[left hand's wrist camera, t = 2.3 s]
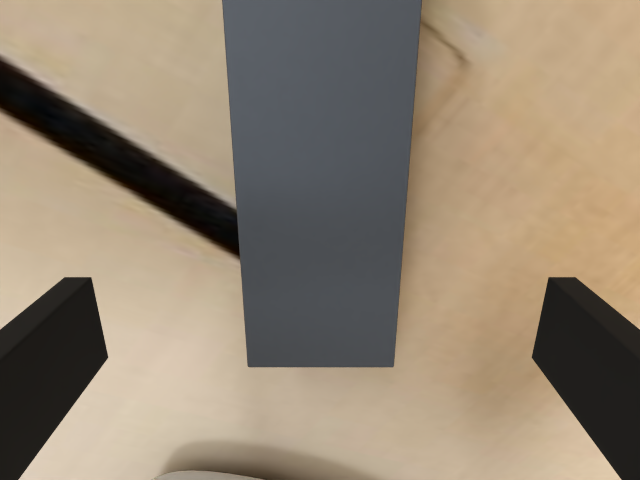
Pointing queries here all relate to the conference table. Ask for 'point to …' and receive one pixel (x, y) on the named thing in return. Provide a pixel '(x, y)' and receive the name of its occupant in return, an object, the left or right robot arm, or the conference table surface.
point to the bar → (321, 173)
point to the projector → (202, 476)
